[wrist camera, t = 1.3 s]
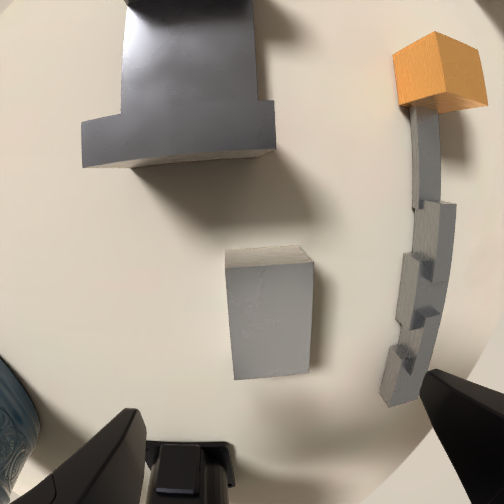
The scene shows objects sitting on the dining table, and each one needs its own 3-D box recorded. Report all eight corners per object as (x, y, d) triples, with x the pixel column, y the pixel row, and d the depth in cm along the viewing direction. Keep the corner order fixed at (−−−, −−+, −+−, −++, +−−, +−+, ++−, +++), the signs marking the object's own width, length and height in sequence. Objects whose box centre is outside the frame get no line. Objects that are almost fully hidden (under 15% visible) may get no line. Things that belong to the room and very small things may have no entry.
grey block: (295, 340, 16) (308, 372, 13) (232, 346, 16) (234, 380, 13) (296, 244, 15) (313, 262, 12) (225, 248, 14) (224, 268, 12)
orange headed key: (410, 384, 18) (437, 418, 14) (375, 394, 18) (399, 433, 14) (433, 66, 12) (477, 49, 8) (392, 54, 12) (434, 31, 8)
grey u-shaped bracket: (258, 157, 13) (276, 148, 8) (129, 168, 13) (82, 168, 8) (248, -18, 11) (258, -76, 6) (135, -6, 10) (108, -57, 5)
